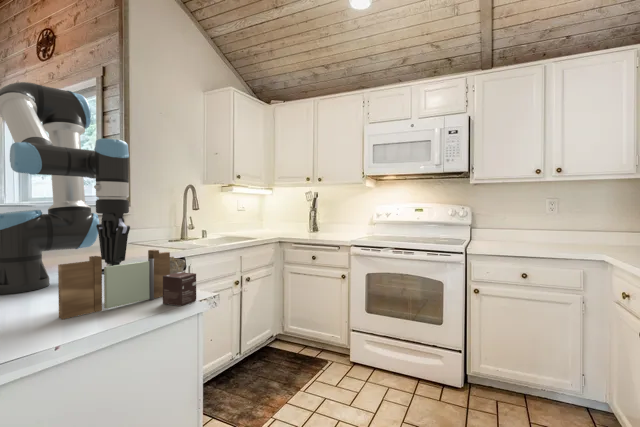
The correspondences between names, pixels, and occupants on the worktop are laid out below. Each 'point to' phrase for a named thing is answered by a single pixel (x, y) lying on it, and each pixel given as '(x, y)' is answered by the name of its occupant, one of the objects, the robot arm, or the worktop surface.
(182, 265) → the rock
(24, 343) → the worktop surface
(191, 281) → the box
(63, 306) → the partition
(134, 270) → the door
